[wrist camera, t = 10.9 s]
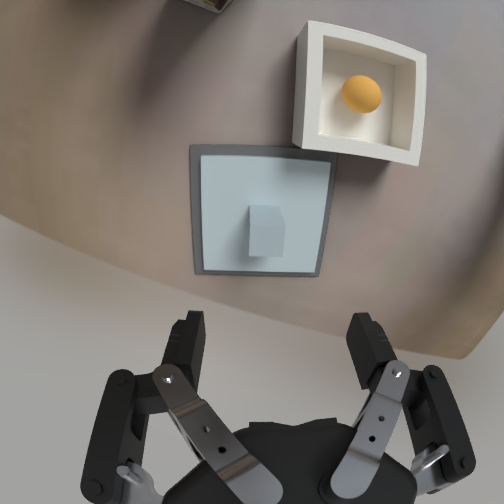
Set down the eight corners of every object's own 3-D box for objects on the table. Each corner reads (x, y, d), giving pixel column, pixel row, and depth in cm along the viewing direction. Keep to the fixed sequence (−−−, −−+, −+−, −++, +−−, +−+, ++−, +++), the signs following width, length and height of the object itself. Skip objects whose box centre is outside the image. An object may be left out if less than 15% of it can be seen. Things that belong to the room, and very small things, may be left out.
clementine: (372, 81, 20) (389, 78, 17) (370, 116, 22) (387, 117, 18) (337, 74, 20) (351, 68, 17) (335, 109, 22) (349, 109, 18)
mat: (336, 152, 24) (337, 152, 24) (318, 274, 31) (318, 276, 31) (190, 144, 24) (189, 145, 24) (196, 271, 31) (195, 273, 30)
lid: (328, 161, 24) (349, 174, 19) (313, 268, 30) (325, 300, 25) (202, 155, 24) (190, 165, 19) (205, 265, 30) (197, 298, 25)
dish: (399, 60, 19) (426, 54, 15) (392, 156, 24) (418, 166, 20) (297, 36, 19) (308, 20, 14) (291, 142, 24) (302, 148, 20)
